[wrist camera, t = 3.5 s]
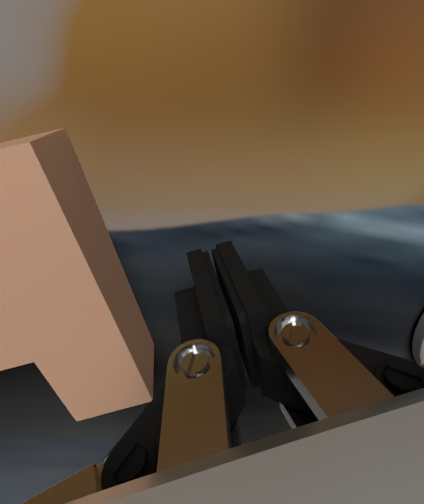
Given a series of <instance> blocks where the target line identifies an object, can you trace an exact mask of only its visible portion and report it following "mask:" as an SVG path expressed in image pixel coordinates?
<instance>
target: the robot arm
mask: <svg viewBox="0 0 424 504" xmlns="http://www.w3.org/2000/svg"><path fill="white" fill-rule="evenodd" d="M216 248H217V249H213V250H212V255H213V259H214V263H215V268H216V272H217V276H218V279H217V276H216V273H215V271H214V268H213V265H212V263H211V260H210V257H209V254H208V252H207V251H206V252H202V251H201V249H198V250H194V251H191V252H187V257H188V261H189V266H190V270H191V274H192V278H193V282H194V286H195V287H191V288H188V289H184V290H181V291H177V292H175V299H176V306H177V314H178V321H179V328H180V335H181V342H182V344H181V345H180V346H178V347H177V348H176V349H175V350H174V351H173V353H172V354H171V356H170V357H169V361H168V364H167V374H166V384H165V385H164V386H163V387H162V389H161V390H160V391H159V392H158V394H157V395H156V396H155V397H154V399H153V400H152V401H151V402H150V403H149V405H148V406H147V407H146V408H145V410H144V411H143V412H142V413H141V415H140V416H139V417H138V418H137V420H136V421H135V422H134V423H133V425H132V426H131V427H130V428H129V430H128V431H127V432H126V433H125V434H124V436H123V437H122V438H121V439H120V441H119V442H118V443H117V444H116V446H115V447H114V448H113V449H112V451H111V452H110V454H109V456H108V457H107V459H106V461H105V462H104V463H102V464H100V465H98V466H97V467H96V466H95V464H94V463H93V464H91V465H89V466H88V467H86V468H84V469H82V470H80V471H79V472H77V473H75V474H73V475H72V476H70V477H68V478H66V479H64V480H63V481H61V482H59V483H57V484H55V485H54V486H52V487H50V488H48V489H47V490H45V491H43V492H41V493H39V494H38V495H36V496H34V497H32V498H30V499H29V500H27V501H25V502H23V503H21V504H424V313H423V314H422V316H421V318H420V320H419V322H418V324H417V326H416V328H415V332H414V337H413V341H412V353H413V356H414V359H415V362H416V363H417V364H416V363H414V362H411V361H409V360H406V359H403V358H400V357H397V356H393V355H390V354H387V353H383V352H380V351H376V350H373V349H370V348H366V347H363V346H360V345H356V344H353V343H350V342H346V341H343V340H340V339H336V338H335V337H334V336H333V335H332V334H331V333H330V332H329V331H328V330H327V329H326V328H325V327H324V326H323V325H322V324H321V323H320V322H319V321H318V320H317V319H316V318H314V317H313V316H311V315H309V314H306V313H302V312H289V311H288V310H287V308H286V307H285V305H284V303H283V302H282V300H281V299H280V297H279V296H278V294H277V292H276V291H275V289H274V288H273V286H272V284H271V283H270V281H269V280H268V278H267V276H266V275H265V273H264V272H263V270H262V269H256V270H253V271H249V272H247V270H246V268H245V266H244V265H243V263H242V261H241V259H240V257H239V255H238V253H237V252H236V250H235V248H234V246H233V244H232V242H231V241H228V242H224V243H221V244H217V245H216ZM240 353H241V356H242V359H243V362H244V365H245V368H246V370H247V373H248V376H249V379H250V382H251V385H252V387H253V388H254V387H257V386H259V388H260V391H261V394H262V396H266V397H268V398H270V399H272V400H274V401H277V402H278V404H279V407H280V409H281V411H282V413H283V415H284V416H285V418H286V420H287V421H288V423H289V425H290V426H291V428H292V429H291V430H287V431H284V432H281V433H278V434H275V435H272V436H268V437H265V438H262V439H259V440H256V441H253V442H250V443H246V444H243V445H241V438H240V430H239V422H238V419H237V417H238V416H239V414H240V412H241V410H242V408H243V407H244V405H245V399H244V394H243V391H244V390H247V389H248V388H247V384H246V379H245V374H244V370H243V365H242V360H241V356H240Z"/></svg>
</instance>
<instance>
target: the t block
mask: <svg viewBox="0 0 424 504" xmlns="http://www.w3.org/2000/svg"><path fill="white" fill-rule="evenodd" d="M32 362H34V363H35V364H36V365H37V367H38V368H39V370H40V371H41V372H42V374H43V375H44V377H45V378H46V379H47V381H48V382H49V384H50V385H51V386H52V388H53V389H54V391H55V392H56V393H57V395H58V396H59V398H60V399H61V400H62V402H63V403H64V405H65V406H66V407H67V409H68V410H69V412H70V413H71V414H72V416H73V417H74V419H75V420H76V421H80V420H83V419H87V418H91V417H95V416H98V415H102V414H106V413H110V412H113V411H117V410H121V409H125V408H128V407H132V406H136V405H139V404H143V403H147V402H151V401H152V400H153V373H154V343H153V340H152V338H151V335H150V333H149V331H148V328H147V326H146V323H145V321H144V318H143V316H142V314H141V311H140V309H139V306H138V304H137V301H136V299H135V297H134V294H133V292H132V289H131V287H130V284H129V282H128V280H127V277H126V275H125V272H124V270H123V267H122V265H121V263H120V260H119V258H118V255H117V253H116V250H115V248H114V246H113V243H112V241H111V238H110V236H109V233H108V231H107V228H106V226H105V224H104V221H103V219H102V216H101V214H100V212H99V209H98V207H97V205H96V202H95V199H94V197H93V194H92V192H91V190H90V188H89V185H88V182H87V180H86V178H85V175H84V173H83V170H82V168H81V165H80V163H79V161H78V158H77V156H76V153H75V151H74V148H73V146H72V143H71V141H70V139H69V136H68V134H67V131H66V129H65V128H63V129H59V130H54V131H50V132H46V133H41V134H37V135H33V136H29V137H24V138H20V139H16V140H11V141H7V142H3V143H0V371H1V370H5V369H9V368H13V367H17V366H21V365H25V364H28V363H32Z"/></svg>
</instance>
